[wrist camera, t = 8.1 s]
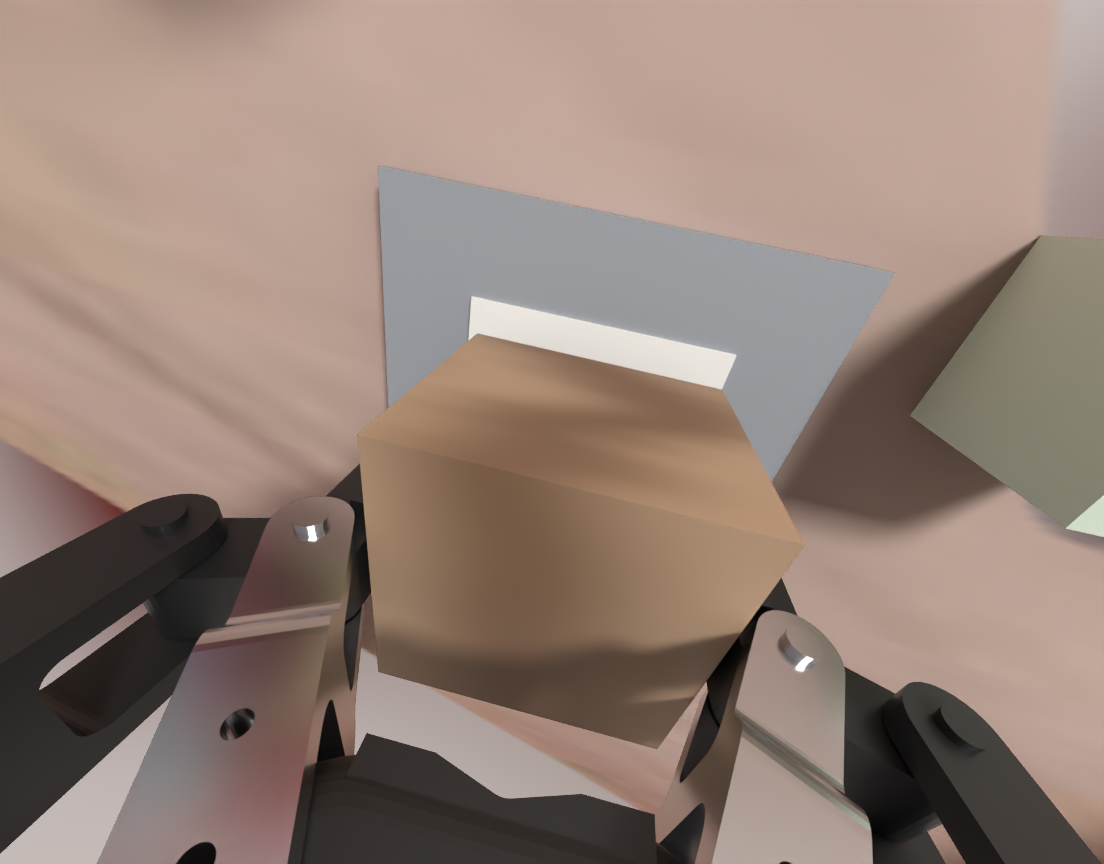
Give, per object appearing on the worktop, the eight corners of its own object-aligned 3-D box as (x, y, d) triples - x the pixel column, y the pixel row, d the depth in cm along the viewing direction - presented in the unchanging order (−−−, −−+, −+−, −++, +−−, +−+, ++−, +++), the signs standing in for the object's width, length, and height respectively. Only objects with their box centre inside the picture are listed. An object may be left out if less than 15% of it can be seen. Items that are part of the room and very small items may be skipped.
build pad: (879, 269, 9) (897, 273, 9) (695, 594, 15) (698, 609, 15) (390, 167, 10) (375, 165, 9) (401, 520, 16) (392, 531, 15)
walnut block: (722, 389, 9) (805, 545, 5) (646, 561, 12) (657, 749, 8) (477, 333, 10) (357, 434, 5) (462, 514, 13) (378, 672, 8)
